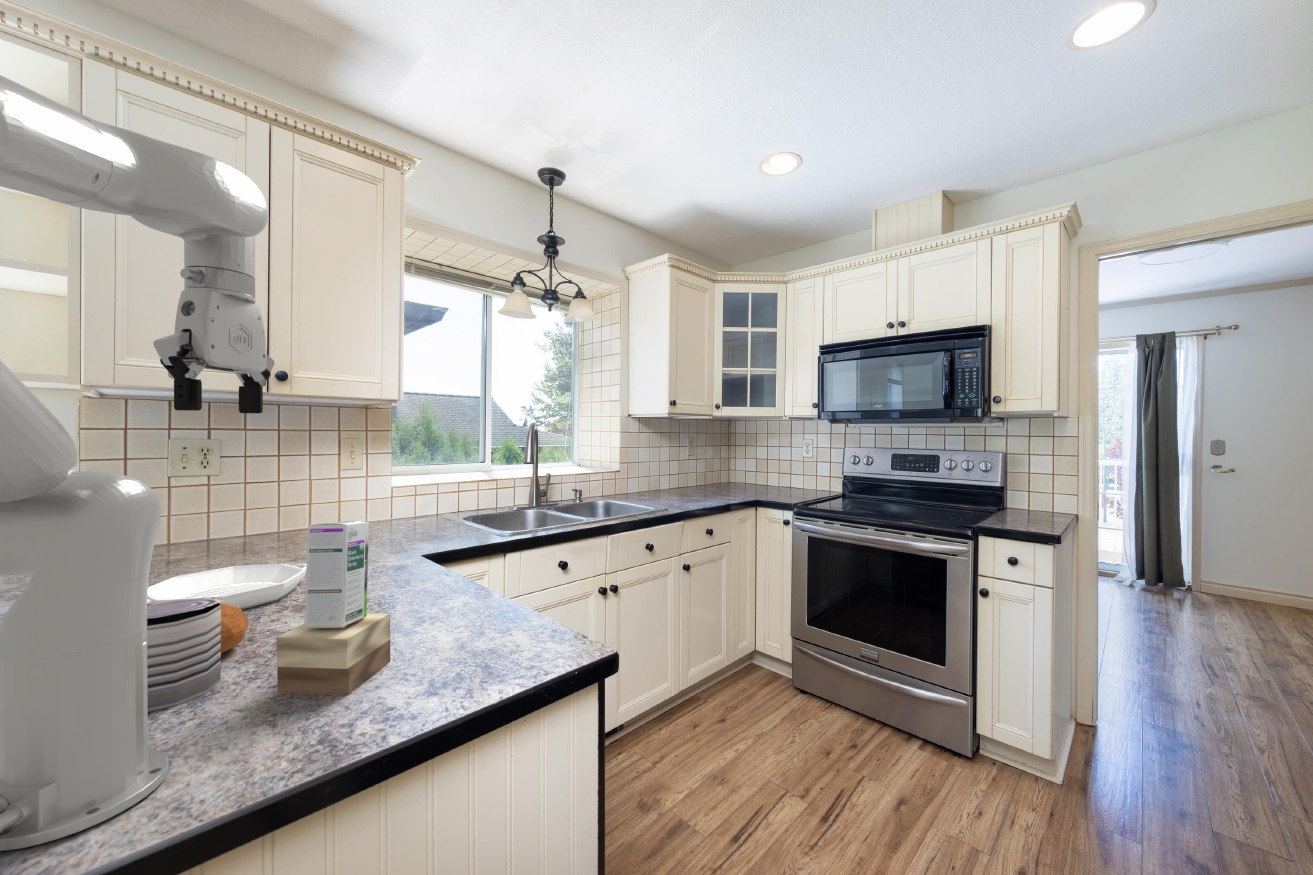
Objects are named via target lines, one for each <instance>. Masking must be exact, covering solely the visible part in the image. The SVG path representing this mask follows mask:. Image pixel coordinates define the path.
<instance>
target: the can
mask: <svg viewBox="0 0 1313 875" xmlns="http://www.w3.org/2000/svg"><path fill="white" fill-rule="evenodd" d="M222 601H224V600H220V599H216V598H202V599H190V600H178V601H171V602H165V603H160V604H154V605H149V604H147V679H148V713H150V712H154V711H159V710H164V709H168V708H174V707H177V706H179V705H181V704H185V703H187V702H189V701H192V700H194V699H197V698H199V697H201V696H204V695H206V694H208V693H209V692H211V690H213V689H214V688H215V687H216V686H217V685H219V684H220V683H221V681H222V678H221V676H222V674H221V673H222V666H221V665H222V657H221V656H222V654H221V605H220V604H219V602H222Z"/></svg>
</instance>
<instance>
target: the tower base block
mask: <svg viewBox="0 0 1313 875" xmlns="http://www.w3.org/2000/svg"><path fill="white" fill-rule="evenodd" d="M390 663H391V639H390V640H388V641H387V642H385V643H384V644H383V645H381V646H380V647H378V648H377V649H375V650H374V651H372V652H371V653H369V654H368V655H367V656H365V657H364V658H362V659H361V660H359V661H358V662H356V663H355V664H354V665H352V666H351V667H349V668H348V669H332V668H302V667H277V666H276V667H277V668H276V669H277V671H276V672H277V678H276V679H277V682H276V683H277V684H276V686H277V687H276V688H277V694H293V693H294V694H295V693H298V694H299V695H332V696H333V695H335V696H337V695H338V696H349V695H351V694H352V693H353V692H354V691H356V690H357V689H358V688H360V687H361V686H362V685H364V684H365V683H367V681H368V680H369V679H372V677H374V676H375V675H376V674H377V673H378V672H380V671H381V670H382V669H384V668H385V667H386V666H387V665H389V664H390ZM300 693H301V694H300Z"/></svg>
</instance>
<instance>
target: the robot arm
mask: <svg viewBox="0 0 1313 875" xmlns="http://www.w3.org/2000/svg"><path fill="white" fill-rule="evenodd" d="M0 187H1V188H5V189H9V190H12V191H13V190H14V191H17V192H20V193H21V192H22V193H25V194H28V195H33V196H35V197H38V198H39V197H40V198H43V199H47V200H50V201H54V202H57V203H59V204H64V205H68V206H72V207H75V208H79V209H84V210H88V211H95V212H101V213H106V214H107V213H108V214H113V215H122V216H130V217H131V218H132V219H134V220H135V221H137V222H138V223H139V224H141V225H143V226H145V227H147V228H149V229H152V230H155V231H157V232H158V231H159V232H161V233H165V234H168V235H171V236H175V237H177V238H180V239H182V240H183V252H184V253H183V254H184V255H183V256H184V259H183V261H184V262H183V263H184V264H183V265H184V266H183V268H182V269H181V270H180V271H179V272H180V277H181V278H183V280H184V281H183V282H184V285H183V286H184V287H183V288H184V290H182V291H181V292H180V296H179V299H178V303H177V309H176V314H175V322H174V333H173V334H170V335H167V336H164V337H161V338H158V339H155V340H154V341H153V342H152V343H153V347H154V349H155V350H156V352H157V355H158V356H159V358H160V359H159V362H160V364H161V365H162V366H163V367H164V369H165V370H166V371H167V375H168V378H170V379H172V380H173V408H174V411H175V410H176V411H191V412H192V411H195V412H196V411H200V410H202V407H203V402H202V401H203V398H202V397H203V392H202V391H203V386H202V383H203V382H202V379H198V378H197V377H198V376H199V375H200V374H201V373H202V371H203V370H213V371H221V372H226V373H227V372H228V373H234V374H235V375H236V376H237V378H238V380H239V381H240V383H241V384H242V385H243V386H242V385H239V386H238V412H239V413H240V414H262V413H263V411H264V410H263V406H264V405H263V403H264V402H263V400H264V399H263V397H264V396H263V394H264V393H263V388H264V387H266V385H267V381H268V380H269V379H270V377H271V375H272V373H271V372H272V371H273V368H274V366H275V360H274V359H273V357H271V356H270V355H268V354H267V344H266V335H265V334H266V332H265V326H264V321H263V316H262V311H261V308H260V305H259V304H257V303H256V236H257V235H259V234H260V233H262V231H264V230H265V227H266V226H267V223H268V219H269V208H268V203H267V202H266V199H265V196H264V195H263V193H262V190H261V189H260V188H259V187H258V185H256V183H255V182H254V181H253V179H251V178H250V177H248V176H247V175H246V173H244V172H243V171H241V170H239V169H237V168H235V167H233V166H231V165H230V164H228V163H226V162H224V161H222V160H220V159H218V158H215V157H212V156H210V155H207V154H204V153H201V152H198V151H195V150H192V149H189V148H186V147H183V146H179V145H176V144H172V143H170V142H166V141H162V140H159V139H157V138H153V137H150V136H146V135H144V134H141V133H138V132H134V131H132V130H129V129H125V128H122V127H119V126H117V125H116V126H115V125H111V124H108V123H105V122H102V121H99V120H97V119H93V118H91V117H88V116H87V115H84V114H83V113H80V112H79V111H77V110H74V109H72V108H70V107H67V106H66V105H63V104H61V103H59V102H57V101H54V100H52V99H50V98H48V97H46V96H45V95H42V94H40V93H38V92H36V91H34V90H32V89H31V88H28V87H26V86H24V85H21V84H20V83H18V82H16V81H15V80H14V81H13V80H12V79H9V78H7V77H5V76H3V75H0ZM249 374H250V375H249ZM196 378H197V379H196ZM77 462H78V451H77V447H76V443H75V442H74V440H73V438H72V437H71V435H70V433H69V432H68V430H67V429H66V427H65V426H64V425H63V424H62V423H61V421H60V420H59V419H58V418H57V417H56V416H55V415H54V414H53V412H51V410H50V409H49V408H47V406H46V405H45V404H44V403H43V402H42V401H41V400H40V399H39V397H37V396H36V394H35V393H33V391H31V389H30V388H29V387H28V386H26V385H25V383H24V382H22V381H21V379H20V378H19V377H18V376H17V375H16V374H15V372H13V371H12V370H11V369H10V368H9V367H8V366H7V365H6V364H5V363H4V362H3V361H2V360H1V359H0V577H1V576H3V577H4V576H30V579H29V582H28V584H27V585H26V587H25V588H24V589H23V590H22V592H21V593H20V595H19V596H18V597H17V598H16V600H14V602H13V603H12V604H11V605H10V606H9V608H8V609H7V611H6V612H5V614H4V615H3V617H2V619H1V621H0V852H3V851H5V852H6V851H11V850H19V849H25V848H29V847H34V846H38V845H42V844H46V843H50V842H52V841H55V840H59V839H62V838H66V837H68V836H71V835H73V834H77V833H79V832H82V831H84V830H87V829H89V828H91V827H93V826H96V825H99V824H101V823H102V822H104V821H107V820H109V819H111V818H113V817H114V816H117V815H119V814H120V813H122V812H124V811H125V810H127V809H129V808H131V807H133V806H135V805H136V804H137V803H139V802H140V801H142V800H143V799H145V798H146V797H147V796H148V795H150V794H151V793H152V792H153V791H154V790H156V789H157V788H158V787H159V786H160V785H161V783H162V782H164V780H165V779H166V777H167V775H168V773H169V767H170V761H169V756H168V755H167V754H166V753H165V752H164V751H161V750H159V749H155V748H154V749H153V748H149V738H148V736H149V731H148V730H149V728H148V727H149V719H148V717H149V715H148V713H149V712H148V679H147V606H148V604H147V592H148V587H149V578H150V577H149V575H150V569H151V563H152V558H153V553H154V548H155V544H156V541H157V537H158V533H159V529H160V524H161V519H162V518H161V517H162V515H161V514H162V513H161V512H162V509H161V503H160V501H159V498H158V496H157V494H156V492H154V490H153V489H152V488H151V487H150V486H148V484H146V483H145V482H143V481H141V480H139V479H137V478H135V477H132V476H129V475H125V474H120V473H119V474H118V473H113V472H106V471H75V469H76V466H77Z"/></svg>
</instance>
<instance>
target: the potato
mask: <svg viewBox="0 0 1313 875" xmlns="http://www.w3.org/2000/svg"><path fill="white" fill-rule="evenodd" d="M219 604H220V605H221V655H222V654H224V653H225V652H227V651H229V650H230V649H232V648H235V647H236V646H237V645H239V644H240V643H242V640H243V639H244V637H245V635H246V632H247V630H248V628H249V626H250V625H249V620H248V617H247V615H246V613H245V612H244V611H243V610H241V609H239V608H237V607H236V606H232V605H229V604H225V603H219Z"/></svg>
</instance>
